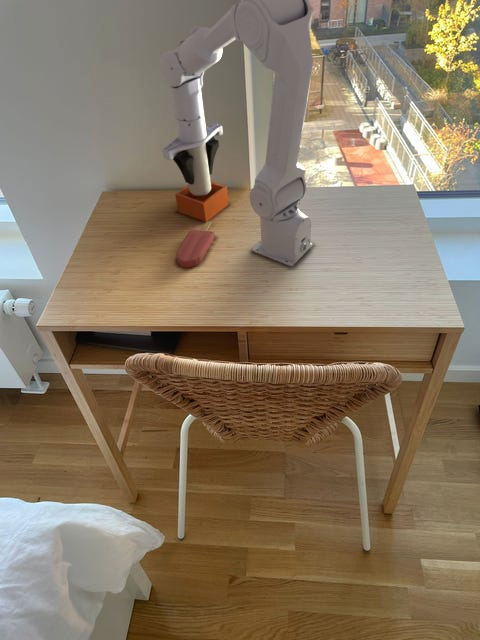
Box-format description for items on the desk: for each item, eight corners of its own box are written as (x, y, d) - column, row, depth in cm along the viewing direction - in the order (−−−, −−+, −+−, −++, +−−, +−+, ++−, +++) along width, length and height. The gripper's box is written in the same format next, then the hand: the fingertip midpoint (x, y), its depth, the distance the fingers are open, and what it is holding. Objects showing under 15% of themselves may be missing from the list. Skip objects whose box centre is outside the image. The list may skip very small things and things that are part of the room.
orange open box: (228, 204, 111) (226, 186, 108) (206, 222, 107) (203, 204, 104) (201, 194, 115) (198, 177, 112) (178, 211, 111) (174, 193, 108)
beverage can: (214, 193, 107) (208, 141, 98) (193, 199, 106) (185, 147, 97) (207, 183, 110) (200, 132, 102) (187, 189, 109) (178, 137, 101)
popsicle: (220, 219, 104) (196, 263, 95) (221, 226, 106) (197, 269, 96) (197, 217, 106) (171, 260, 96) (198, 223, 107) (172, 266, 97)
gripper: (203, 98, 101) (211, 159, 111) (148, 123, 95) (161, 185, 104) (226, 106, 98) (232, 168, 107) (170, 132, 91) (182, 196, 101)
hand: (199, 177), depth 106 cm, fingers closed on beverage can, 5 cm apart
